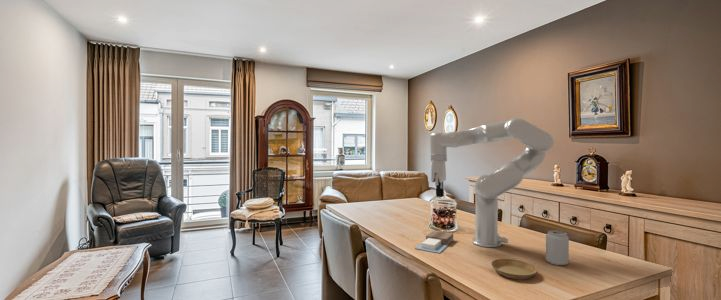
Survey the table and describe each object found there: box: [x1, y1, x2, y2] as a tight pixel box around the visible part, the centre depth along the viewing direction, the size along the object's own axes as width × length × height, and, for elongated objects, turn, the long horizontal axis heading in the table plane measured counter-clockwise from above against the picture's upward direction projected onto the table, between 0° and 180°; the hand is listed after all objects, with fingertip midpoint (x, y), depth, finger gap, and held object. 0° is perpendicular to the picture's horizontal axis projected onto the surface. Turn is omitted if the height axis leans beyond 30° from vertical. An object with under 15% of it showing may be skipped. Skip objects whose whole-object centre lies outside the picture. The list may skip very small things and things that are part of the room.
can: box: [545, 229, 570, 266], centre depth 122 cm, size 8×8×12 cm
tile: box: [420, 238, 441, 250], centre depth 142 cm, size 6×9×2 cm, turn 147°
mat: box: [414, 243, 449, 254], centre depth 141 cm, size 11×11×1 cm
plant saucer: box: [490, 258, 538, 280], centre depth 113 cm, size 15×15×3 cm
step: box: [425, 230, 454, 245], centre depth 150 cm, size 10×10×3 cm
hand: (439, 196), depth 152 cm, fingers closed
